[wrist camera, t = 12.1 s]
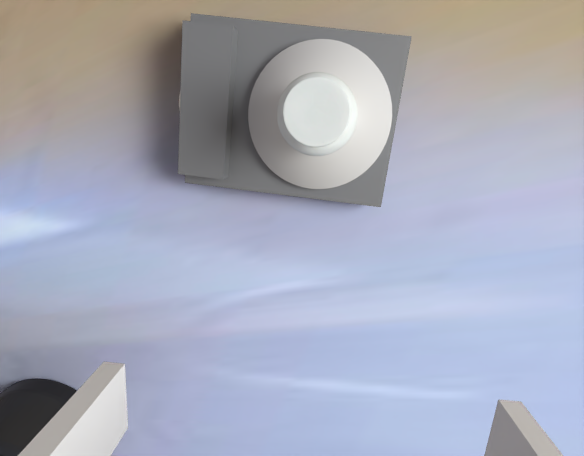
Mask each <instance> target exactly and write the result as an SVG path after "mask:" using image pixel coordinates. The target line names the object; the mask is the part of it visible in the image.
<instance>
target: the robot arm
mask: <svg viewBox="0 0 584 456" xmlns="http://www.w3.org/2000/svg"><path fill="white" fill-rule="evenodd" d="M127 429H128V418H127V398H126V378H125V364H121V363H111V362H103V363H102V364H101V365H100V366H99V368H98V369H97V370H96V371H95V372H94V373H93V374H92V375H91V376H90V377H89V379H88V380H87V381H86V382H85V383H84V384H83V385H82V386H81V387H80V388H79V389H78V391H76V390H74V389H73V388H71V387H69V386H67V385H64V384H62V383H59V382H55V381H51V380H44V379H30V380H24V381H21V382H18V383H15V384H13V385H11V386H10V387H8V388H7V389H6V390H4V391H3V392H2V393H1V394H0V456H111V454H112V453H113V451H114V450H115V448H116V446H117V445H118V443H119V442H120V440H121V438H122V437H123V435H124V434H125V432H126V430H127ZM484 456H563V455H562V453H561V452H560V451H559V450H558V448H557V447H556V446H555V444H554V443H553V442H552V441H551V439H550V438H549V437H548V436H547V434H546V433H545V432H544V430H543V429H542V428H541V427H540V425H539V424H538V423H537V422H536V420H535V419H534V418H533V416H532V415H531V414H530V413H529V411H528V410H527V409H526V407H525V406H524V405H523V404H522V402H519V401H509V400H498V403H497V407H496V411H495V415H494V419H493V423H492V427H491V431H490V435H489V439H488V443H487V447H486V451H485V455H484Z"/></svg>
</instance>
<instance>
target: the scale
mask: <svg viewBox="0 0 584 456" xmlns="http://www.w3.org/2000/svg"><path fill="white" fill-rule="evenodd" d="M410 42H411V36H402V35H392V34H383V33H373V32H364V31H354V30H344V29H335V28H325V27H316V26H306V25H297V24H287V23H278V22H268V21H259V20H249V19H240V18H230V17H221V16H211V15H202V14H192V13H191V21H183V24H182V56H181V89H180V95H179V111H180V122H179V154H178V174H182V175H185V183H192V184H200V185H208V186H216V187H224V188H232V189H240V190H248V191H256V192H264V193H272V194H280V195H288V196H296V197H304V198H312V199H320V200H328V201H336V202H344V203H352V204H360V205H368V206H376V207H381V203H382V197H383V192H384V186H385V181H386V175H387V170H388V164H389V159H390V153H391V147H392V142H393V136H394V131H395V125H396V120H397V114H398V109H399V103H400V98H401V92H402V87H403V81H404V76H405V70H406V65H407V59H408V54H409V48H410ZM311 72H324V73H329V74H332V75H334V76H336V77H338V78H339V79H341V80H342V81H343V82H344V83H346V84H347V86H348V87H349V88H350V90H351V91H352V93H353V95H354V97H355V100H356V103H357V109H358V117H357V124H356V127H355V130H354V132H353V134H352V136H351V138H350V139H349V140H348V142H347V143H346V144H345V145H344V146H343V147H341V148H340V149H339V150H337V151H335V152H333V153H331V154H328V155H324V156H309V155H305V154H302V153H300V152H298V151H296V150H295V149H294V148H292V147H291V146H290V145H289V144H288V143H287V142H286V141H285V139H284V138H283V136H282V134H281V132H280V130H279V126H278V122H277V108H278V103H279V100H280V98H281V95H282V93H283V92H284V90H285V89H286V88H287V86H288V85H289V84H290V83H291V82H292V81H294V80H295V79H296V78H298V77H300V76H302V75H304V74H307V73H311Z"/></svg>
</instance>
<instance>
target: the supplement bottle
mask: <svg viewBox="0 0 584 456" xmlns="http://www.w3.org/2000/svg"><path fill="white" fill-rule="evenodd" d="M357 117H358V109H357V103H356V100H355V97H354V95H353V93H352V91H351V90H350V88H349V87H348V86H347V84H346V83H344V82H343V81H342V80H341V79H339V78H338V77H336V76H334V75H332V74H329V73H324V72H311V73H307V74H304V75H302V76H300V77H298V78H296V79H295V80H294V81H292V82H291V83H290V84H289V85H288V86H287V88H286V89H285V90H284V92H283V93H282V95H281V98H280V100H279V103H278V108H277V122H278V126H279V130H280V132H281V134H282V136H283V138H284V139H285V141H286V142H287V143H288V144H289V145H290V146H291V147H292V148H294V149H295V150H296V151H298V152H300V153H302V154H305V155H309V156H324V155H328V154H331V153H333V152H335V151H337V150H339V149H340V148H341V147H343V146H344V145H345V144H346V143H347V142H348V140H349V139H350V138H351V136H352V134H353V132H354V130H355V127H356V124H357Z"/></svg>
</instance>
